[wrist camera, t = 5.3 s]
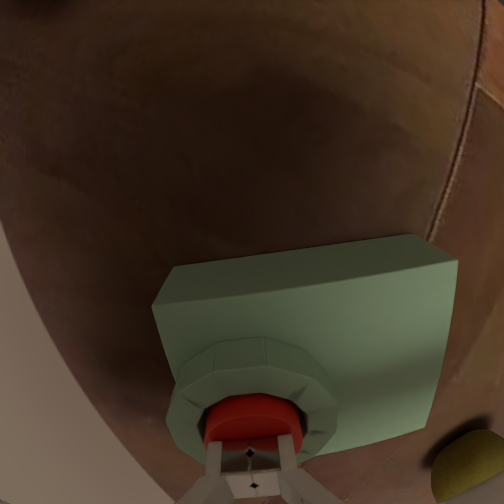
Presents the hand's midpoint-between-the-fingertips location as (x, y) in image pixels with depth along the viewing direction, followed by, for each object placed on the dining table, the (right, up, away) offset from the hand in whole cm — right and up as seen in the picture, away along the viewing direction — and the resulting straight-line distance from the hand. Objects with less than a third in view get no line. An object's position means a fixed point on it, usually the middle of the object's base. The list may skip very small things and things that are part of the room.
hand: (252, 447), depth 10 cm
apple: (+19, -11, +11) cm, 24 cm away
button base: (+3, +3, +6) cm, 7 cm away
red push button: (0, +1, +2) cm, 2 cm away
